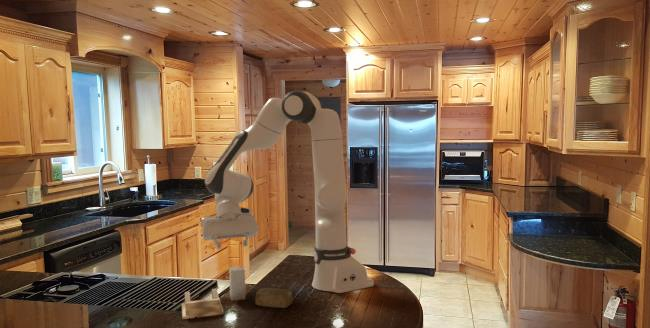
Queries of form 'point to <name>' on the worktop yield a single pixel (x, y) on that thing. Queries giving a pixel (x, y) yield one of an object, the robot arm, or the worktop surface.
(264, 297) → the stone block
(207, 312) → the cradle
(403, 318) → the worktop surface
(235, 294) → the block
